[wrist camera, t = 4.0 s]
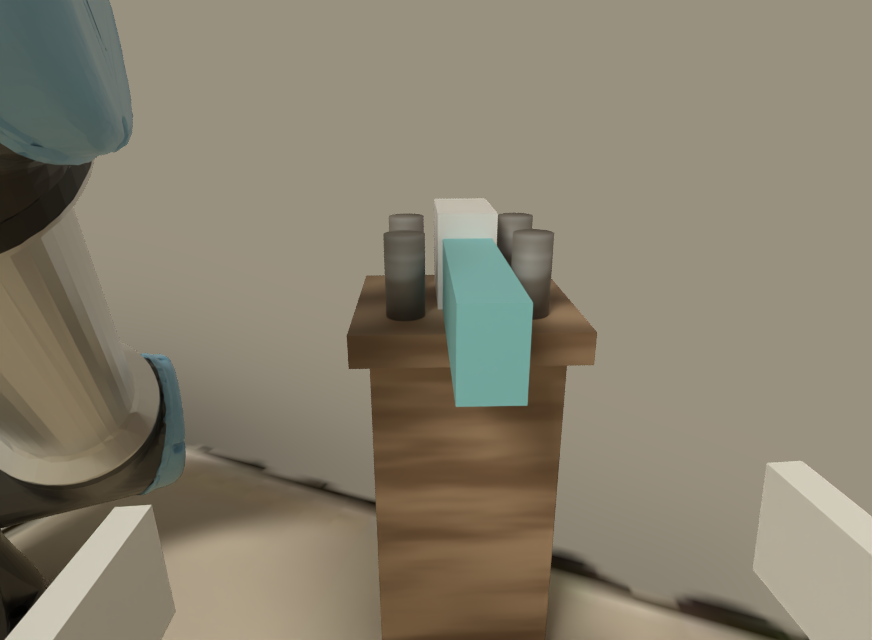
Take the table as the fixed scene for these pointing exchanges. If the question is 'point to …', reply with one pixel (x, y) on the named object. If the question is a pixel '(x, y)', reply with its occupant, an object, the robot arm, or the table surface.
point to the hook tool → (480, 307)
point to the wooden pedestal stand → (463, 449)
